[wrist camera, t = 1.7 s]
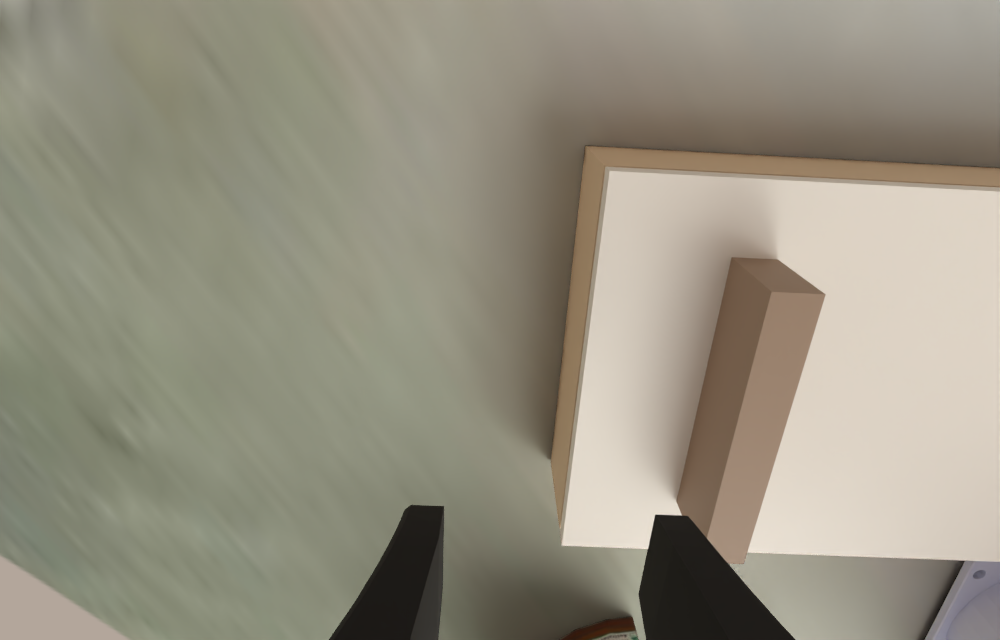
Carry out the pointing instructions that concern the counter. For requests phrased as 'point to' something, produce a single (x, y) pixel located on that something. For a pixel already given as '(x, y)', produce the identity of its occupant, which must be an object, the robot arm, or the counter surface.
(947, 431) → the box lid
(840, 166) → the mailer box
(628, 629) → the food container
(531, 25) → the counter surface
